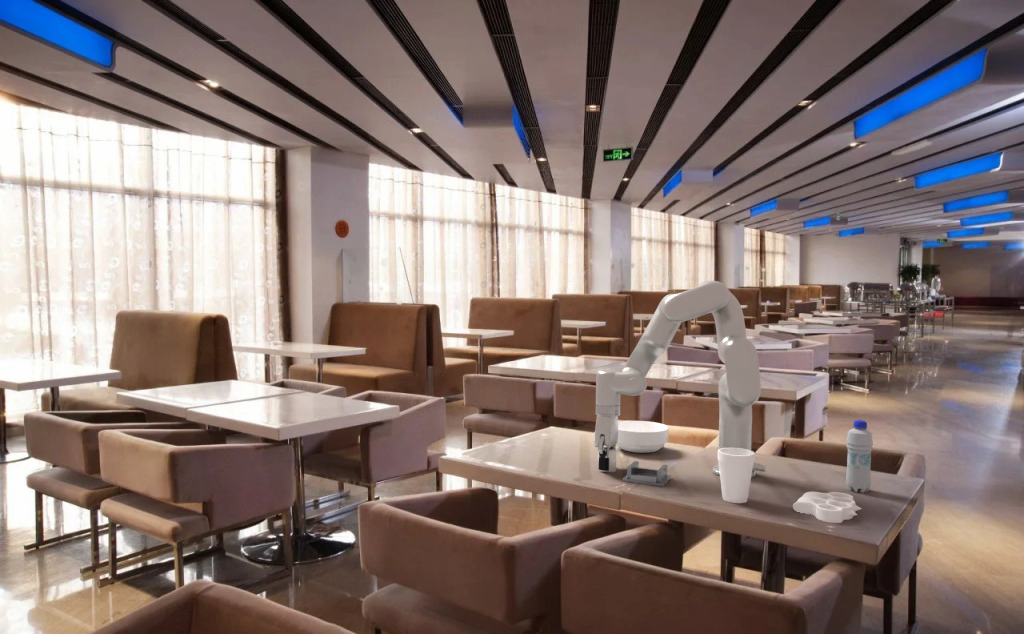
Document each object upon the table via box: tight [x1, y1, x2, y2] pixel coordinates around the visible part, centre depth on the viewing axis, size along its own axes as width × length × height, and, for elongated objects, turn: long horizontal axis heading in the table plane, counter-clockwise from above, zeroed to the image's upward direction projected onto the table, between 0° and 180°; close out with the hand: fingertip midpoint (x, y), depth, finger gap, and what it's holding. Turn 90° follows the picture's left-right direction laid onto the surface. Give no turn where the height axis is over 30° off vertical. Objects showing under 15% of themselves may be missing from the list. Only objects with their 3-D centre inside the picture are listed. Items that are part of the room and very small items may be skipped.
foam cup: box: [716, 448, 756, 504], centre depth 188 cm, size 10×9×13 cm
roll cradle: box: [622, 460, 672, 487], centre depth 207 cm, size 12×10×4 cm
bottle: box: [845, 419, 874, 493], centre depth 197 cm, size 7×7×20 cm
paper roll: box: [597, 449, 617, 473], centre depth 217 cm, size 6×6×6 cm
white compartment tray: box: [792, 491, 863, 524], centre depth 179 cm, size 3×18×15 cm
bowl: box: [616, 420, 670, 454], centre depth 243 cm, size 20×20×8 cm
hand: (606, 467), depth 217 cm, fingers closed on paper roll, 5 cm apart
